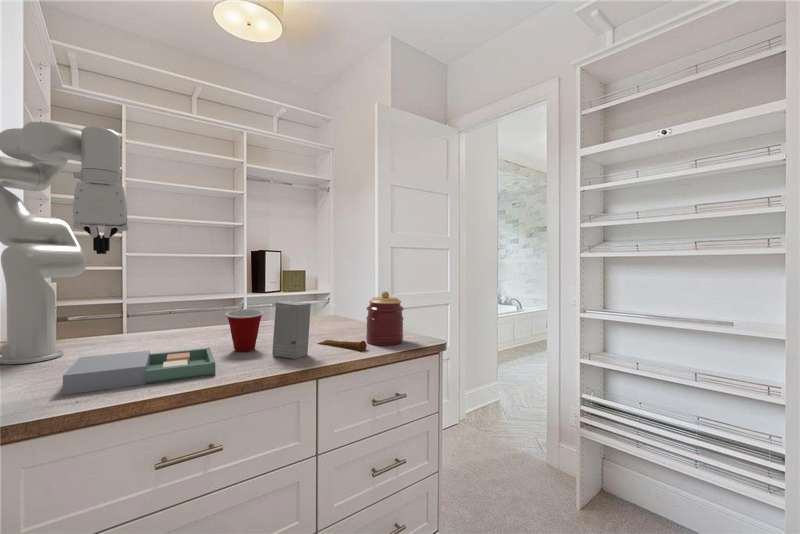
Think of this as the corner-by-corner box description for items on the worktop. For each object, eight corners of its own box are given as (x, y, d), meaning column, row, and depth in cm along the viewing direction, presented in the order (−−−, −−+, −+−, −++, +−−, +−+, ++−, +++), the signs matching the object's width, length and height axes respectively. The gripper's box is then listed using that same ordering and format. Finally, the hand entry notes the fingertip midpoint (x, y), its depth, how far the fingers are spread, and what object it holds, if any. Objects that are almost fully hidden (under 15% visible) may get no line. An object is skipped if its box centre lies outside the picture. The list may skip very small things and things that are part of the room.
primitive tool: (316, 345, 124) (316, 334, 124) (327, 342, 129) (327, 332, 129) (360, 353, 114) (361, 342, 114) (371, 350, 118) (371, 339, 118)
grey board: (62, 394, 76) (62, 375, 75) (80, 373, 89) (80, 357, 89) (145, 383, 83) (145, 366, 83) (149, 365, 96) (149, 350, 96)
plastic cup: (223, 355, 107) (223, 314, 107) (227, 347, 117) (227, 309, 117) (262, 353, 111) (263, 313, 110) (263, 345, 121) (264, 308, 121)
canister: (410, 341, 129) (411, 291, 129) (385, 348, 119) (386, 293, 119) (384, 336, 138) (384, 289, 137) (358, 341, 128) (358, 291, 128)
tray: (145, 384, 82) (145, 371, 82) (150, 365, 97) (150, 353, 97) (215, 374, 90) (215, 362, 90) (209, 358, 104) (209, 347, 104)
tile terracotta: (189, 356, 95) (189, 366, 95) (189, 352, 99) (189, 361, 99) (166, 359, 92) (166, 369, 92) (167, 354, 97) (167, 363, 97)
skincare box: (271, 356, 107) (272, 302, 107) (288, 351, 114) (288, 299, 113) (295, 360, 104) (296, 304, 103) (310, 354, 110) (311, 301, 110)
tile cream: (187, 364, 88) (187, 374, 88) (187, 359, 92) (187, 369, 92) (162, 367, 85) (162, 378, 85) (163, 362, 90) (163, 372, 90)
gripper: (56, 172, 84) (57, 253, 84) (137, 180, 92) (137, 254, 92) (65, 178, 90) (65, 253, 91) (139, 185, 98) (139, 254, 99)
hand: (101, 253), depth 92 cm, fingers closed
